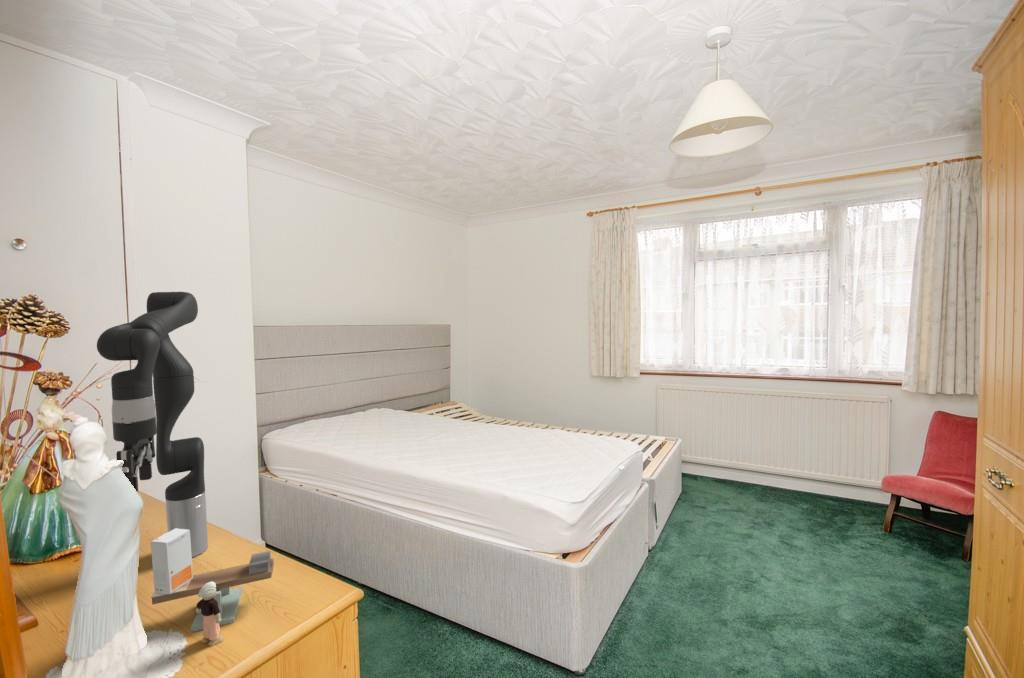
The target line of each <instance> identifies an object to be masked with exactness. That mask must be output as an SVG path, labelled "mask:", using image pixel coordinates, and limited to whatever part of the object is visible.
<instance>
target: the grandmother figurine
mask: <svg viewBox="0 0 1024 678" xmlns="http://www.w3.org/2000/svg"><path fill="white" fill-rule="evenodd" d="M215 595H216V583H214V582H208V583H206V584H205V585H204V586H203V587H202V588H201V589H200V591H199V593H198V594H197V597H198V598H200V600H199V601H198V602H197V603H196V604H195V605H196V606H195V607H196V608H195V613H196V614H197V613H199V612H200V611H201V613H202V615H203V617H204V618H203V638H201V643H203V644H206V643H208V646H209V647H212V646H213V647H214V646H215V645H218V644H220V643H221V642H223V641H224V639H225V638H224V636H223V635H222V634H220V632H221V627H220V626H221V625H220V626H219V623H220V622H221V618H220V616H221V615H220V609H219V607H218V602H217V601H216V600H215V599H214V596H215Z"/></svg>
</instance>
